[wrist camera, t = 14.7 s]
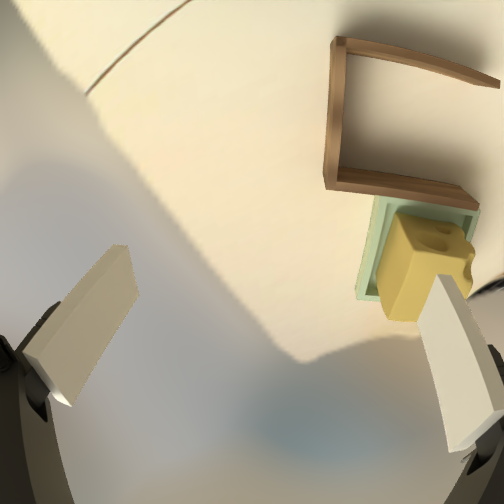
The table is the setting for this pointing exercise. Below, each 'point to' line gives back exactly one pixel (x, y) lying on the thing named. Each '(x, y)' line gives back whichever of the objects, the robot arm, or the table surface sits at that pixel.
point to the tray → (380, 229)
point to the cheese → (420, 263)
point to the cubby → (381, 181)
